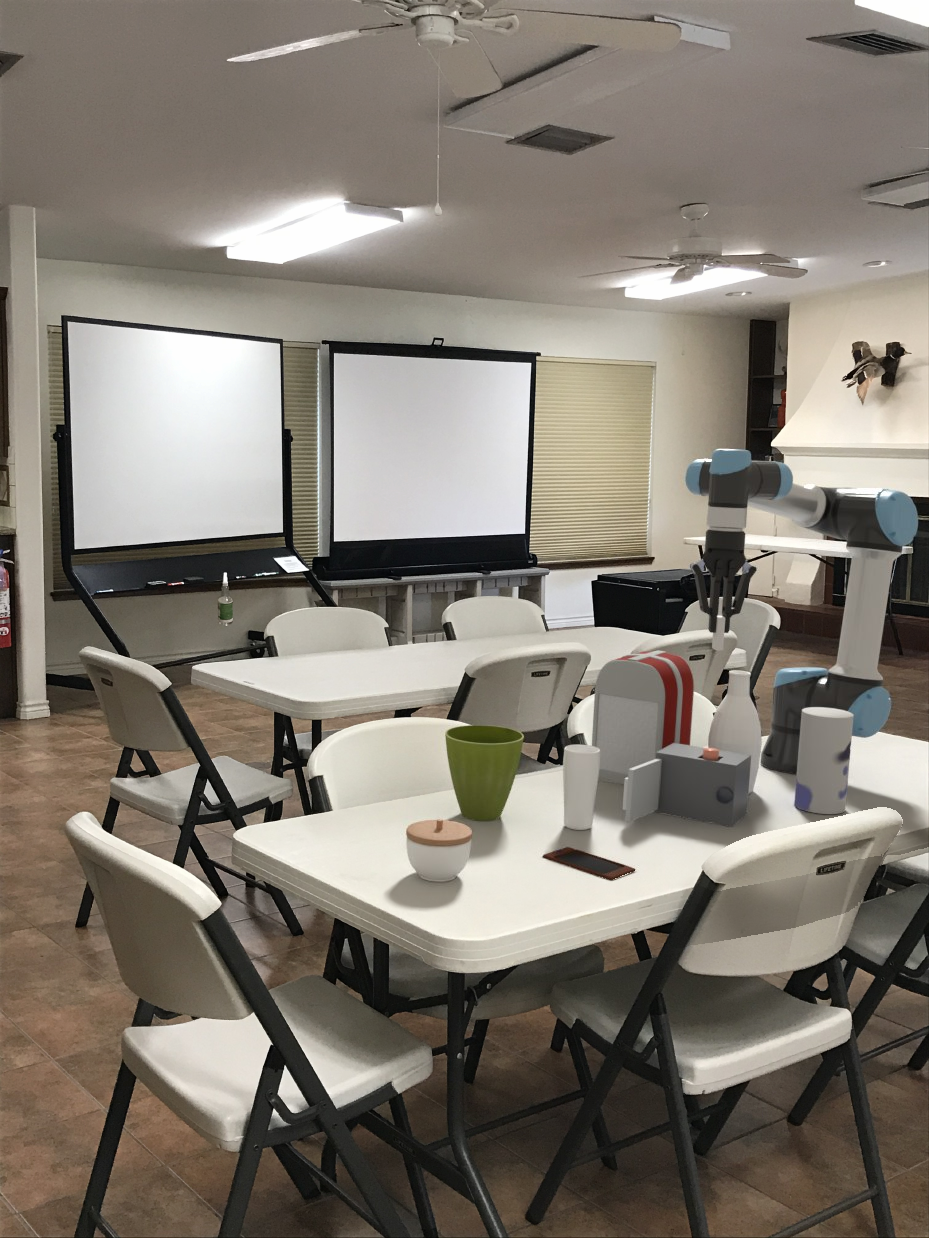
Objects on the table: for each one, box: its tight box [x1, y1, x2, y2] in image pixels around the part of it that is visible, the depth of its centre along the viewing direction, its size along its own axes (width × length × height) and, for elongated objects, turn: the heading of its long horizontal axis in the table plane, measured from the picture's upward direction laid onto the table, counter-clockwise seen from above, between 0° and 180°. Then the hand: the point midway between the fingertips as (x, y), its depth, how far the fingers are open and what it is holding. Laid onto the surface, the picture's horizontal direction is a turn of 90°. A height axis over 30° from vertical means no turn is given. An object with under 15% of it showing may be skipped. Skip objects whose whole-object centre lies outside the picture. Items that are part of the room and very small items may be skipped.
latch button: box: [703, 747, 719, 761], centre depth 231 cm, size 3×3×2 cm
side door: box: [622, 758, 662, 823], centre depth 229 cm, size 2×12×10 cm, turn 143°
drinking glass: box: [562, 744, 600, 831], centre depth 222 cm, size 7×7×15 cm
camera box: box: [652, 743, 751, 828], centre depth 234 cm, size 11×16×12 cm
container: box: [793, 707, 854, 815], centre depth 241 cm, size 10×10×20 cm
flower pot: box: [444, 724, 525, 822], centre depth 226 cm, size 15×15×16 cm
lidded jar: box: [405, 818, 473, 883], centre depth 193 cm, size 11×11×9 cm
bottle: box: [707, 669, 763, 795], centre depth 252 cm, size 11×11×25 cm
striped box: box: [591, 649, 695, 786], centre depth 260 cm, size 16×18×27 cm
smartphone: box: [542, 846, 637, 881], centre depth 203 cm, size 7×1×15 cm
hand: (717, 649), depth 234 cm, fingers closed
